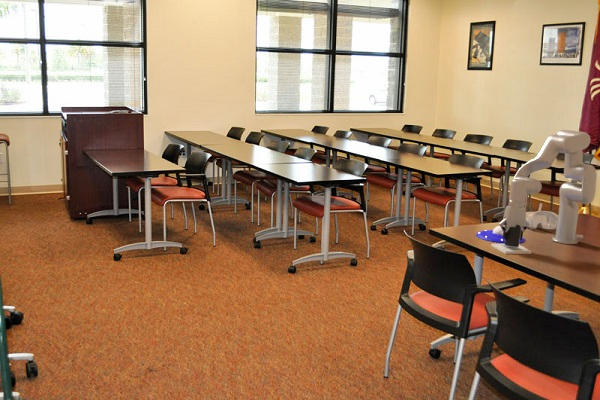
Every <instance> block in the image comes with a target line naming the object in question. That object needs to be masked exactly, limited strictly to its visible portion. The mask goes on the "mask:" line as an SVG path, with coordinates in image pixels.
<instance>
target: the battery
mask: <svg viewBox="0 0 600 400" xmlns="http://www.w3.org/2000/svg"><path fill="white" fill-rule="evenodd" d="M507 232H508V240H505V245H507V246H513V247H519V245H520V244H519V241H520V235H521V226H520V225H516V227H510V228H509V230H508V231H507Z"/></svg>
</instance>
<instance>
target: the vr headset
mask: <svg viewBox="0 0 600 400" xmlns="http://www.w3.org/2000/svg"><path fill="white" fill-rule="evenodd" d="M542 206H543V203H541V202H540V203H539V206H538V210H537V211H526V221H527V222H528V223H529V224H530V225H529V226H528V227H527V228H529V229H530V230H536V229H541V230H542V229H543V230H546V229H547V230H546V231H554V230H556V229H557V221H558V214H557V213H555V212H553V211H549V210H548V211H547V210H542V208H543V207H542Z"/></svg>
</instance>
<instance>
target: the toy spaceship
mask: <svg viewBox="0 0 600 400" xmlns="http://www.w3.org/2000/svg"><path fill="white" fill-rule="evenodd" d="M475 237H476V238H478V239H481V240H483V241H487V242H490V241H491V242H490V243H495V242H496V243H495V244H502V243H503V244H505V239H503V230H502V229H501V227H500V226H499V225H497V226H495V227H494V228H493V229H491V230H490V229H487V230H486V229H485V230H481V231H478V232H476V234H475ZM525 242H526V239H525V238H524V236H523V237H522V240H520V241H519V243H520V244H523V243H525Z"/></svg>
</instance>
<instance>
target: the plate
mask: <svg viewBox="0 0 600 400" xmlns="http://www.w3.org/2000/svg"><path fill="white" fill-rule="evenodd" d="M490 247H492V248H494V249H495V250H498V251H500V252H501V253H502V254H505V255H507V254H510V255H511V254H512V255H516V254H517V255H519V254H521V255H522V254H523V255H525V254H526V255H527V254H530V255H531V254H532V250H530V249H528V248H526V247H525V246H523V245H520V244H519V247H513V246H507V245H505V244H502V243H491V245H490Z"/></svg>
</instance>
